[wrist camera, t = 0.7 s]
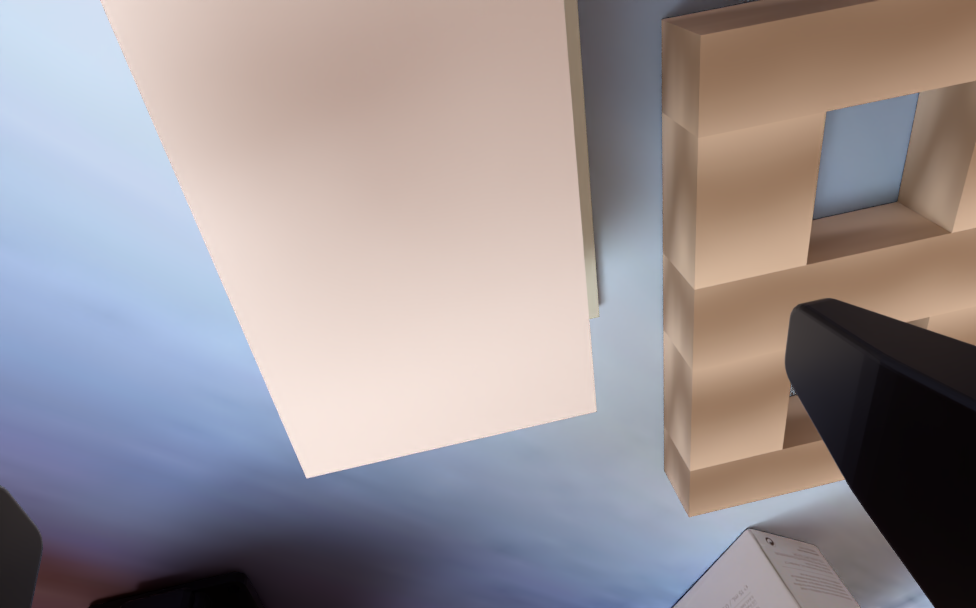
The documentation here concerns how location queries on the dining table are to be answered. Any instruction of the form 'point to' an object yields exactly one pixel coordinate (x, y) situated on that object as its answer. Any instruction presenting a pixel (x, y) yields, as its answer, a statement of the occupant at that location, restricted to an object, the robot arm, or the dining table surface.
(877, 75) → the hole board
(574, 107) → the plate
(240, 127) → the white rectangular block
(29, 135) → the dining table surface
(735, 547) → the skincare box
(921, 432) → the robot arm
